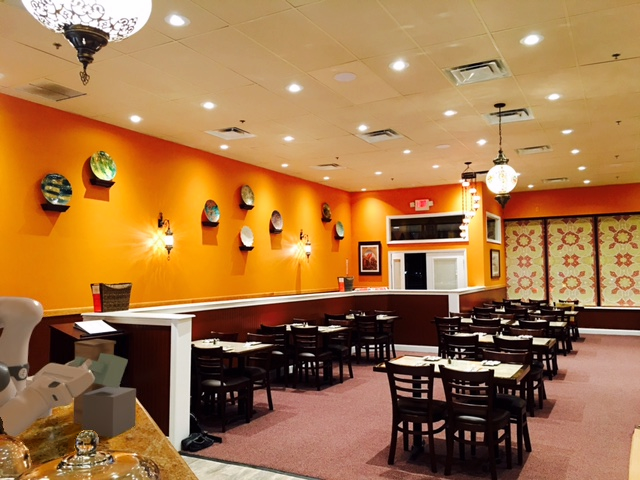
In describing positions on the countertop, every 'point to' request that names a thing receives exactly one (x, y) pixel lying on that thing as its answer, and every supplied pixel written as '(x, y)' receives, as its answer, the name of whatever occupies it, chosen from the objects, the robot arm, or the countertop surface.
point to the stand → (92, 352)
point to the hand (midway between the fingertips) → (85, 360)
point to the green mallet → (105, 369)
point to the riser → (109, 411)
